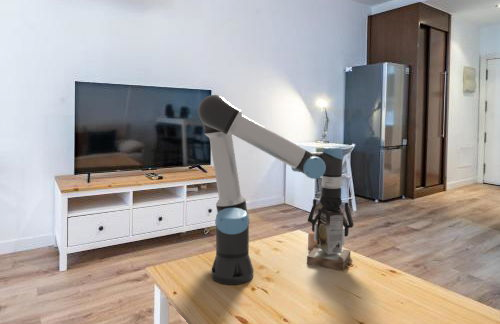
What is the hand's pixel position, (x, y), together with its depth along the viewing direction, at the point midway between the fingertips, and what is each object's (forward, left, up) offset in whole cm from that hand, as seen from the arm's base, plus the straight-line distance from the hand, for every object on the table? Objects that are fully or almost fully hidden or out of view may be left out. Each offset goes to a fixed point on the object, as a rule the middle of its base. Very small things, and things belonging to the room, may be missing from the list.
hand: (329, 241), depth 141 cm
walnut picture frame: (0, 0, -8) cm, 8 cm away
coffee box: (0, 0, -4) cm, 4 cm away
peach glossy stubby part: (-8, +11, -8) cm, 16 cm away
